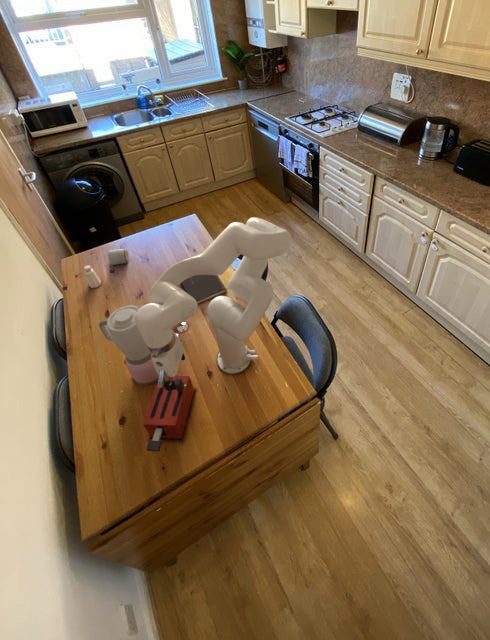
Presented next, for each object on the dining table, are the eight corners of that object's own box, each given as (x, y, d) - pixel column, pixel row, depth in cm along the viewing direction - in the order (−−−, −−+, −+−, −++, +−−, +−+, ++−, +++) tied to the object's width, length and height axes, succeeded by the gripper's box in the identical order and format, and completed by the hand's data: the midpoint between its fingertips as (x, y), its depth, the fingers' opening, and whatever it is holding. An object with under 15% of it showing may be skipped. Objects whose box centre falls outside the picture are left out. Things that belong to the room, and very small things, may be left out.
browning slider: (184, 386, 111) (181, 378, 108) (182, 391, 110) (179, 384, 107) (179, 385, 111) (176, 378, 108) (177, 391, 110) (174, 384, 107)
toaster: (195, 390, 121) (189, 374, 114) (182, 440, 108) (175, 426, 102) (166, 389, 121) (159, 373, 115) (150, 439, 108) (141, 424, 102)
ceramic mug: (129, 264, 174) (124, 253, 169) (112, 268, 172) (106, 256, 167) (130, 252, 182) (125, 240, 177) (113, 255, 180) (108, 244, 175)
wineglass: (192, 326, 142) (186, 307, 135) (180, 335, 139) (173, 316, 132) (184, 319, 145) (178, 300, 138) (172, 327, 142) (165, 308, 135)
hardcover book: (193, 306, 151) (192, 303, 150) (177, 275, 167) (176, 272, 165) (226, 292, 157) (226, 288, 156) (208, 263, 173) (207, 260, 172)
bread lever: (165, 429, 103) (164, 428, 102) (159, 451, 98) (158, 449, 97) (153, 429, 103) (152, 427, 102) (146, 451, 98) (145, 449, 98)
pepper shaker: (102, 285, 163) (94, 268, 156) (90, 289, 161) (81, 272, 154) (100, 278, 167) (91, 261, 160) (88, 283, 164) (79, 266, 157)
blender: (172, 356, 131) (149, 300, 112) (162, 387, 122) (135, 331, 102) (131, 356, 132) (102, 300, 112) (118, 386, 123) (84, 330, 103)
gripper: (164, 370, 87) (180, 401, 98) (183, 315, 101) (194, 348, 112) (135, 369, 88) (154, 401, 99) (158, 315, 101) (172, 348, 112)
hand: (175, 373), depth 105 cm, fingers open, 9 cm apart
